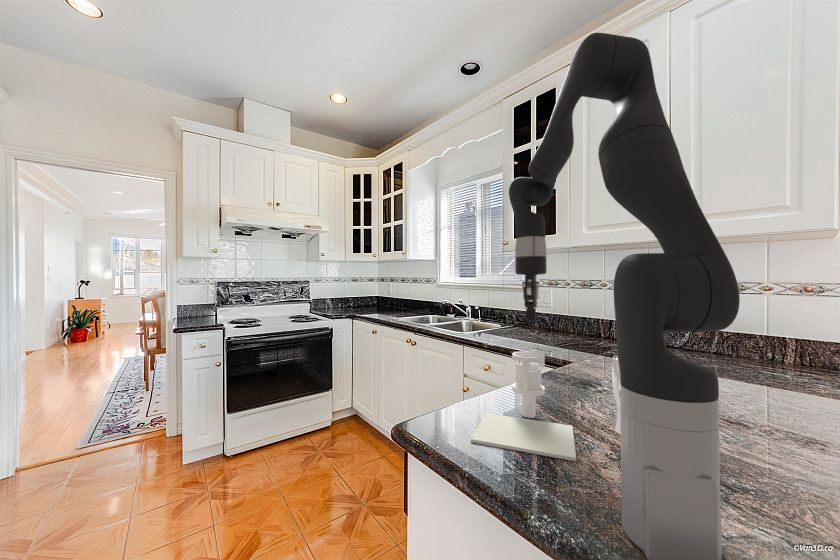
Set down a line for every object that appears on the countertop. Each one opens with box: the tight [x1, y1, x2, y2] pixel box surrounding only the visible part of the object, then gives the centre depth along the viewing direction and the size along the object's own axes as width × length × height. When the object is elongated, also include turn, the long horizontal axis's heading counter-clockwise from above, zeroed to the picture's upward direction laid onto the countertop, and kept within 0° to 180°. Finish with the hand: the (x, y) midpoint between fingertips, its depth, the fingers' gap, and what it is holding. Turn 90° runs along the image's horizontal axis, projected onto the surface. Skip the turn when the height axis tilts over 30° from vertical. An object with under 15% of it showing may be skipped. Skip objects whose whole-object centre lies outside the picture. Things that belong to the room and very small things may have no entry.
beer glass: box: [611, 354, 621, 436], centre depth 67 cm, size 7×7×15 cm
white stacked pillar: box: [511, 348, 546, 419], centre depth 76 cm, size 7×7×15 cm
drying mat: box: [470, 412, 577, 462], centre depth 66 cm, size 14×18×1 cm
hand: (531, 323), depth 85 cm, fingers closed
